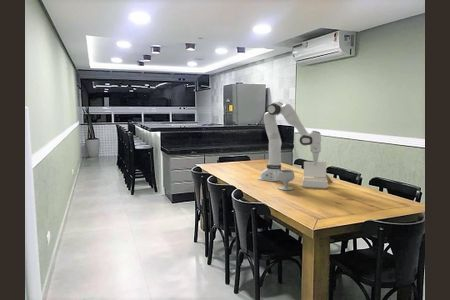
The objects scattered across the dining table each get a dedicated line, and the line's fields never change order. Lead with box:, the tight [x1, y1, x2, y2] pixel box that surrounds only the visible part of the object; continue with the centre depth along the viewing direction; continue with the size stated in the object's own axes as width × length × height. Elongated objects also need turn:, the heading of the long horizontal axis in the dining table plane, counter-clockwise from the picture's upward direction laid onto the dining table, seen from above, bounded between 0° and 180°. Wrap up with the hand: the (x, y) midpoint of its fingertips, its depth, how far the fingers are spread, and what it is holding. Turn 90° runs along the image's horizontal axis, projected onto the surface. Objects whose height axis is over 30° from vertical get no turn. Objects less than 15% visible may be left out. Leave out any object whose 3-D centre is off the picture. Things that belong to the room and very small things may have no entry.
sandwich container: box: [313, 173, 332, 182], centre depth 303 cm, size 9×15×15 cm, turn 109°
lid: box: [303, 161, 327, 178], centre depth 288 cm, size 19×13×1 cm
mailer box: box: [302, 176, 329, 190], centre depth 280 cm, size 20×14×6 cm
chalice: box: [277, 169, 295, 191], centre depth 269 cm, size 14×14×15 cm
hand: (315, 165), depth 288 cm, fingers closed
